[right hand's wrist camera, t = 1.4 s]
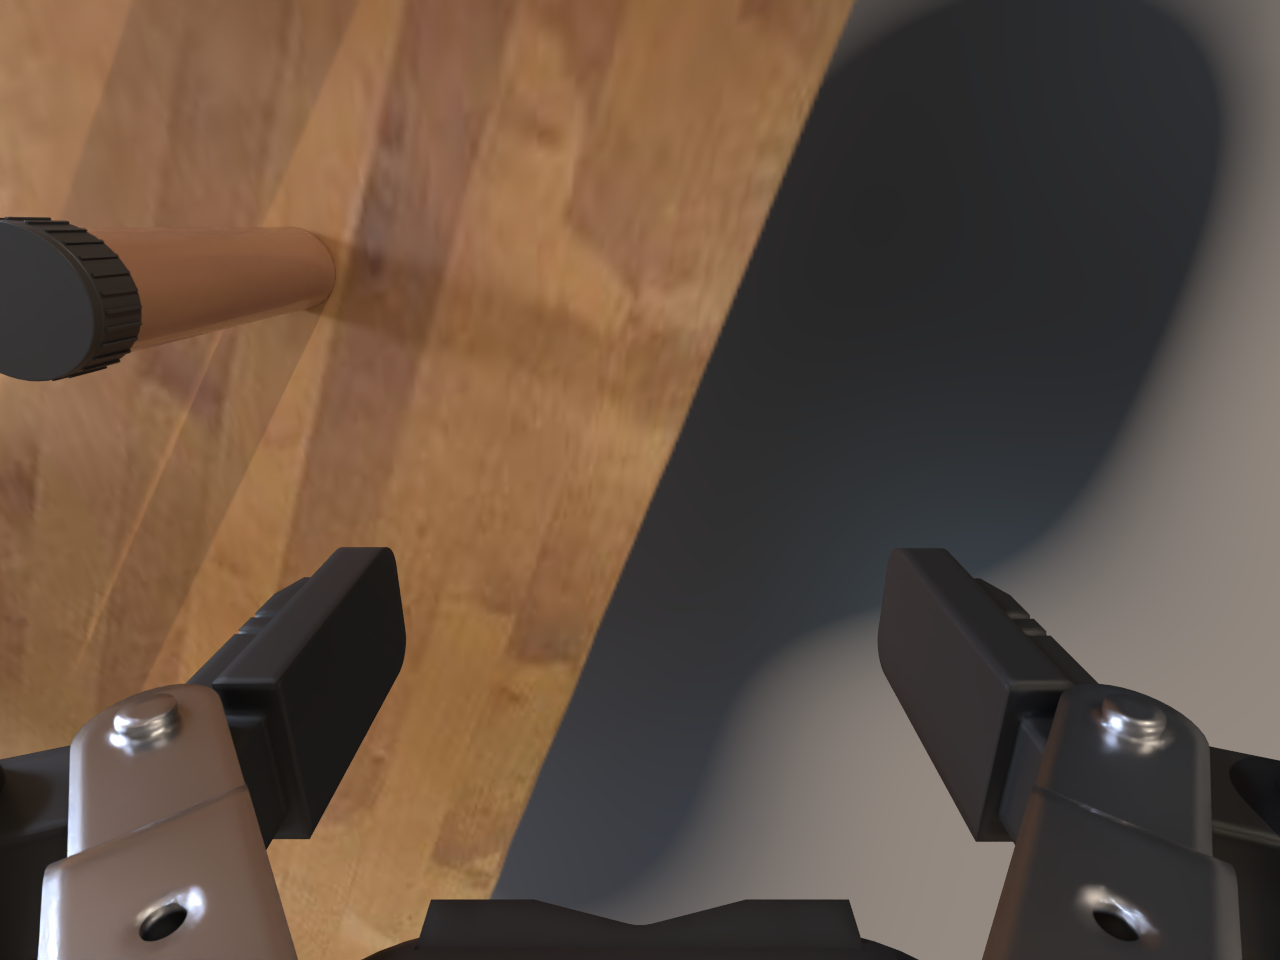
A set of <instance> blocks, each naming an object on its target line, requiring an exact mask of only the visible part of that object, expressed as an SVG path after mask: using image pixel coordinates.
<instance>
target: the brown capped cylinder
mask: <svg viewBox="0 0 1280 960" xmlns="http://www.w3.org/2000/svg"><path fill="white" fill-rule="evenodd" d="M85 229H87V232H88V233H90V234H92V235H94V236H95V237H97V238H98V239H102V240H103V241H104V243H105V244H106V245H107V246H108V247H109V248H110V249H111V250H113V252H114V253H115V254H118V256H119V258H120V259H121V261H122V262H123V263H124V265H125V266H126V268H127V269H128V270H129V271H130V274H131V276H132V278H133V280H134V282H135V285H136V287H137V288H138V293H139V297H140V302H141V305H142V309H141V310H142V319H141V322H142V325H141V327H140V331H139V334H138V338H139V339H138V341H135V343H134V344H133V346H132V348H131V349H130V350H131V352H134V351H138V350H142V349H146V348H150V347H154V346H158V345H162V344H166V343H170V342H174V341H178V340H182V339H186V338H190V337H194V336H198V335H202V334H206V333H210V332H214V331H218V330H222V329H226V328H230V327H234V326H238V325H242V324H246V323H251V322H255V321H259V320H263V319H267V318H271V317H275V316H279V315H283V314H287V313H291V312H295V311H299V310H303V309H307V308H311V307H314V306H317V305H319V304H320V303H322V302H323V301H324V300H326V298H327V297H328V296H329V295H330V293H331V291H332V289H333V286H334V283H335V267H334V262H333V260H332V257H331V255H330V253H329V251H328V250H327V248H326V247H325V246H324V244H323V243H322V242H321V241H320V240H319V239H318V238H317V237H315V236H314V235H312V234H311V233H309V232H307V231H305V230H302V229H299V228H294V227H194V228H85Z"/></svg>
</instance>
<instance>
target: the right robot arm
mask: <svg viewBox="0 0 1280 960" xmlns="http://www.w3.org/2000/svg"><path fill="white" fill-rule="evenodd" d="M405 647H406V632H405V624H404V617H403V610H402V603H401V595H400V588H399V581H398V574H397V566H396V561H395V557H394V554H393V552H392V550H391V549H390V548H388V547H341V548H338V549H337V550H336V551H335V552H334V553H333V554H332V555H331V556H330V558H329V559H328V560H327V561H326V562H325V563H324V564H323V565H322V566H321V567H320V568H319V569H318V570H317V571H316V572H315V574H314V575H313V576H312V577H304V578H302V579H300V580H299V581H297V582H295V583H293V584H292V585H290V586H288V587H286V588H284V589H283V590H281V591H279V592H277V593H275V594H274V595H273V596H272V597H271V598H270V599H269V600H268V601H267V602H266V603H265V604H264V605H263V606H262V607H261V608H260V609H259V610H258V611H257V612H256V613H255V617H251V618H250V619H249V620H248V621H247V622H246V623H245V624H244V625H243V626H242V627H241V628H240V629H239V634H234V635H233V636H232V637H231V638H230V639H229V640H228V641H227V642H226V643H225V644H224V645H223V646H222V647H221V648H220V649H219V650H218V651H217V652H216V654H215V655H214V656H213V657H212V658H211V659H210V660H209V661H208V662H207V663H206V664H205V665H204V666H203V667H202V668H201V669H200V670H199V671H198V672H197V673H196V674H195V675H194V676H193V677H192V678H191V679H190V680H189V681H188V682H187V683H186V684H176V685H168V686H163V687H158V688H155V689H151V690H147V691H144V692H141V693H139V694H136V695H133V696H131V697H128V698H126V699H124V700H122V701H119V702H118V703H116V704H114V705H112V706H110V707H108V708H107V709H105V710H103V711H102V712H100V713H99V714H97V715H96V716H95V717H93V718H92V719H91V720H90V721H88V722H87V723H86V724H85V725H84V726H83V727H82V728H81V729H80V731H79V732H78V733H77V734H76V736H75V737H74V739H73V741H72V744H71V746H66V747H61V748H56V749H51V750H46V751H41V752H36V753H31V754H26V755H21V756H16V757H11V758H6V759H1V760H0V960H298V958H297V955H296V951H295V948H294V944H293V941H292V938H291V934H290V931H289V927H288V924H287V920H286V917H285V914H284V910H283V907H282V903H281V900H280V896H279V893H278V889H277V886H276V883H275V879H274V876H273V872H272V869H271V865H270V862H269V859H268V855H267V852H266V849H267V848H268V846H269V844H270V843H271V841H272V839H310V837H311V836H312V834H313V832H314V830H315V828H316V826H317V824H318V823H319V821H320V819H321V817H322V815H323V813H324V811H325V810H326V808H327V806H328V804H329V802H330V800H331V798H332V797H333V795H334V793H335V791H336V789H337V787H338V785H339V784H340V782H341V780H342V778H343V776H344V774H345V772H346V771H347V769H348V767H349V765H350V763H351V761H352V759H353V758H354V756H355V754H356V752H357V750H358V748H359V746H360V745H361V743H362V741H363V739H364V737H365V735H366V733H367V732H368V730H369V728H370V726H371V724H372V722H373V720H374V719H375V717H376V715H377V713H378V711H379V709H380V707H381V706H382V704H383V702H384V700H385V698H386V696H387V694H388V693H389V691H390V689H391V687H392V685H393V683H394V681H395V680H396V678H397V676H398V674H399V672H400V670H401V667H402V664H403V660H404V655H405ZM878 652H879V659H880V663H881V667H882V669H883V672H884V674H885V676H886V678H887V680H888V681H889V683H890V685H891V687H892V689H893V691H894V692H895V694H896V696H897V698H898V700H899V702H900V703H901V705H902V707H903V709H904V711H905V713H906V714H907V716H908V718H909V720H910V722H911V724H912V725H913V727H914V729H915V731H916V733H917V735H918V736H919V738H920V740H921V742H922V744H923V746H924V747H925V749H926V751H927V753H928V755H929V757H930V758H931V760H932V762H933V764H934V766H935V768H936V769H937V771H938V773H939V775H940V777H941V779H942V780H943V782H944V784H945V786H946V788H947V790H948V791H949V793H950V795H951V797H952V799H953V801H954V802H955V804H956V806H957V808H958V810H959V812H960V813H961V815H962V817H963V819H964V821H965V823H966V824H967V826H968V828H969V830H970V832H971V834H972V836H973V837H974V839H975V841H976V842H1014V844H1015V848H1014V852H1013V855H1012V859H1011V862H1010V865H1009V869H1008V872H1007V876H1006V879H1005V883H1004V886H1003V890H1002V893H1001V896H1000V900H999V903H998V907H997V910H996V914H995V917H994V920H993V924H992V927H991V931H990V934H989V938H988V941H987V945H986V948H985V951H984V955H983V958H982V960H1280V761H1279V760H1274V759H1269V758H1264V757H1259V756H1254V755H1249V754H1244V753H1239V752H1234V751H1229V750H1224V749H1219V748H1214V747H1210V746H1209V744H1208V741H1207V739H1206V737H1205V736H1204V734H1203V733H1202V732H1201V731H1200V729H1199V728H1198V727H1197V726H1196V725H1195V724H1194V723H1193V722H1192V721H1190V720H1189V719H1188V718H1186V717H1185V716H1184V715H1183V714H1181V713H1180V712H1178V711H1177V710H1175V709H1173V708H1172V707H1170V706H1168V705H1166V704H1164V703H1162V702H1160V701H1158V700H1156V699H1154V698H1152V697H1149V696H1147V695H1144V694H1141V693H1139V692H1136V691H1132V690H1129V689H1125V688H1122V687H1117V686H1112V685H1104V684H1098V683H1097V682H1096V681H1095V680H1094V679H1093V678H1092V677H1091V676H1090V675H1089V674H1088V673H1087V672H1086V671H1085V670H1084V669H1083V668H1082V667H1081V666H1080V665H1079V664H1078V663H1077V662H1076V661H1075V660H1074V659H1073V658H1072V657H1071V656H1070V655H1069V654H1068V653H1067V652H1066V651H1065V650H1064V649H1063V648H1062V647H1061V646H1060V645H1059V644H1058V643H1057V642H1056V641H1055V640H1054V639H1053V638H1052V637H1051V636H1047V635H1046V631H1045V630H1044V629H1043V628H1042V627H1041V626H1040V625H1039V624H1038V623H1037V622H1036V621H1035V620H1034V619H1030V615H1029V614H1028V613H1027V612H1026V611H1025V610H1024V609H1023V608H1022V607H1021V606H1020V605H1019V604H1018V603H1017V602H1016V601H1015V600H1014V599H1013V598H1012V597H1011V596H1010V595H1009V594H1007V593H1005V592H1003V591H1001V590H1000V589H998V588H996V587H994V586H992V585H991V584H989V583H987V582H985V581H984V580H982V579H974V578H973V577H972V576H971V575H970V574H969V573H968V572H967V571H966V570H965V569H964V568H963V567H962V566H961V565H960V564H959V563H958V562H957V560H956V559H955V558H954V557H953V556H952V555H951V554H950V553H949V552H948V551H947V550H946V549H943V548H896V549H894V550H893V551H892V553H891V555H890V557H889V561H888V566H887V573H886V580H885V587H884V594H883V602H882V609H881V616H880V623H879V630H878ZM362 960H918V959H916V958H914V957H912V956H910V955H907V954H905V953H903V952H901V951H899V950H896V949H893V948H891V947H888V946H885V945H883V944H880V943H877V942H875V941H871V940H867V939H863V938H861V937H860V934H859V931H858V928H857V925H856V921H855V918H854V915H853V911H852V908H851V905H850V902H849V900H743V901H739V902H735V903H731V904H727V905H723V906H719V907H716V908H712V909H708V910H704V911H700V912H696V913H692V914H688V915H684V916H681V917H677V918H673V919H669V920H665V921H661V922H657V923H653V924H648V925H632V924H627V923H623V922H619V921H615V920H611V919H607V918H603V917H599V916H596V915H592V914H588V913H584V912H580V911H576V910H572V909H568V908H564V907H561V906H557V905H553V904H549V903H545V902H541V901H537V900H431V902H430V905H429V908H428V911H427V915H426V918H425V921H424V924H423V928H422V931H421V934H420V937H419V938H417V939H413V940H409V941H405V942H403V943H400V944H397V945H395V946H392V947H389V948H387V949H384V950H381V951H379V952H377V953H375V954H372V955H370V956H368V957H366V958H364V959H362Z"/></svg>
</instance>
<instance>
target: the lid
mask: <svg viewBox="0 0 1280 960" xmlns="http://www.w3.org/2000/svg"><path fill="white" fill-rule="evenodd" d="M141 309H142V305H141V302H140V297H139V293H138V288H137V287H136V285H135V282H134V280H133V278H132V276H131V274H130V271H129V270H128V269H127V268H126V266H125V265H124V263H123V262H122V261H121V259H120V258H119V256H118V254H115V253H114V252H113V250H111V249H110V248H109V247H108V246H107V245H106V244H105V243H104V241H103V240H102V239H98V238H97V237H95V236H94V235H92V234H90V233H88V232H87V229H85V228H78V227H76V226H74V225H70V224H69V222H68V221H51V218H45V217H5V218H0V373H2V374H4V375H7V376H10V377H13V378H17V379H21V380H27V381H48V380H52V381H56V380H59V379H63V378H67V377H69V378H72V377H76V376H80V375H83V374H87V373H91V372H95V371H98V370H102V369H106V368H107V367H106V366H108V365H111V364H115V363H119V362H120V360H119V359H121V358H122V357H123V356H124V355H125V354H128V353H130V352H131V350H130V349H131V348H132V346H133V344H134V343H135V341H138V339H139V338H138V334H139V331H140V327H141V325H142V322H141V319H142V310H141Z"/></svg>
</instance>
